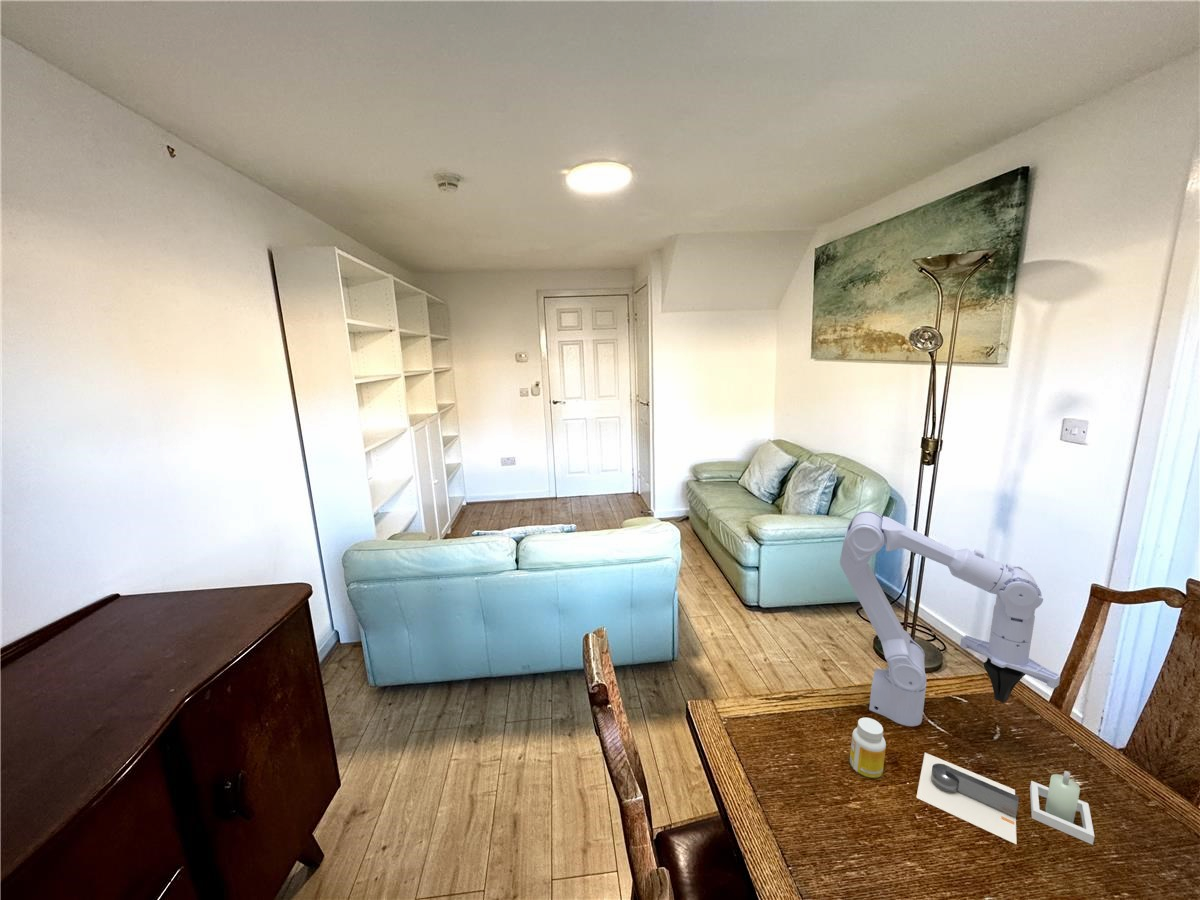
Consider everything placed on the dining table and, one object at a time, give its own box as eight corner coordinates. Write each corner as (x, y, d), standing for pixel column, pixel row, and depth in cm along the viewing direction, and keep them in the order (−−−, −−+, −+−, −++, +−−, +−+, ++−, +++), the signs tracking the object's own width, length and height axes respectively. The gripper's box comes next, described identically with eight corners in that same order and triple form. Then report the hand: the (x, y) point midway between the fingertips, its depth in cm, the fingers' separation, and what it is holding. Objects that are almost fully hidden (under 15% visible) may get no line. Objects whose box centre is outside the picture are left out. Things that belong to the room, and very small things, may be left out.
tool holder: (1030, 823, 78) (1033, 810, 78) (1029, 792, 84) (1031, 780, 83) (1091, 849, 74) (1094, 836, 73) (1085, 816, 79) (1088, 803, 79)
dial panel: (915, 802, 82) (916, 796, 82) (924, 756, 91) (924, 751, 91) (1015, 849, 74) (1016, 843, 74) (1014, 794, 83) (1015, 789, 83)
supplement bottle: (842, 763, 90) (846, 718, 89) (864, 755, 92) (868, 711, 90) (867, 787, 85) (871, 740, 84) (889, 777, 87) (894, 731, 85)
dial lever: (929, 784, 84) (931, 769, 84) (932, 769, 87) (934, 754, 87) (1015, 823, 77) (1018, 808, 76) (1016, 806, 80) (1018, 790, 79)
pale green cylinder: (1045, 821, 79) (1053, 774, 77) (1043, 806, 81) (1051, 760, 79) (1074, 833, 76) (1083, 785, 75) (1071, 817, 79) (1080, 770, 77)
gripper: (955, 621, 93) (947, 684, 96) (1051, 661, 81) (1040, 732, 83) (974, 611, 97) (966, 672, 99) (1069, 648, 84) (1058, 717, 87)
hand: (1001, 699), depth 91 cm, fingers closed
